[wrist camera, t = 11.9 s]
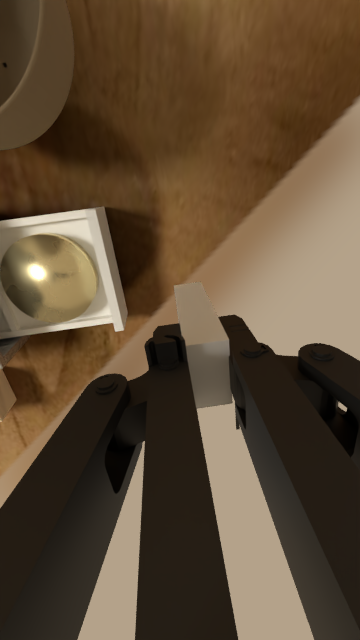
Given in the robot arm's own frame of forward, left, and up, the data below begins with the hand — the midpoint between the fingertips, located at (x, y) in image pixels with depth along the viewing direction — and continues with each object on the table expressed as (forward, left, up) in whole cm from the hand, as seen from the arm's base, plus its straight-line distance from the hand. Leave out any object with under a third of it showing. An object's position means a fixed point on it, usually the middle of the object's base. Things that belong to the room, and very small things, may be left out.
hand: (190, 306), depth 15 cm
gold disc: (-12, 0, -12) cm, 16 cm away
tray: (-13, 0, -13) cm, 19 cm away
